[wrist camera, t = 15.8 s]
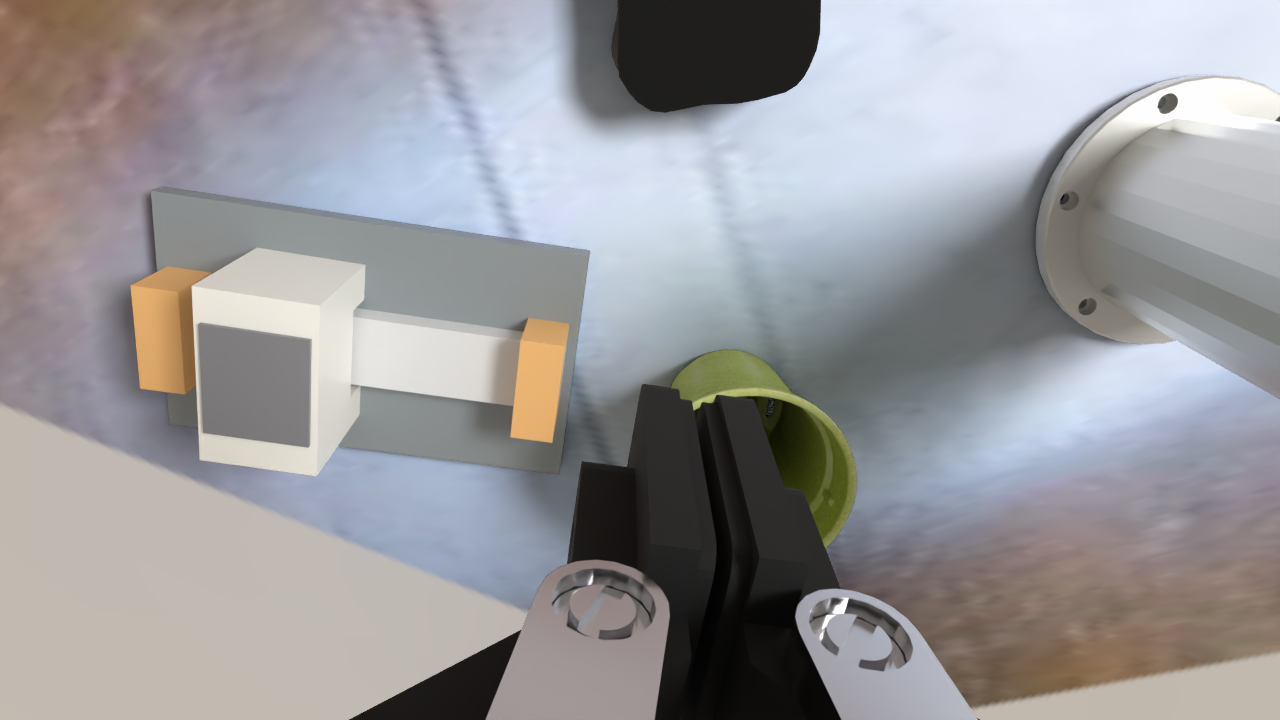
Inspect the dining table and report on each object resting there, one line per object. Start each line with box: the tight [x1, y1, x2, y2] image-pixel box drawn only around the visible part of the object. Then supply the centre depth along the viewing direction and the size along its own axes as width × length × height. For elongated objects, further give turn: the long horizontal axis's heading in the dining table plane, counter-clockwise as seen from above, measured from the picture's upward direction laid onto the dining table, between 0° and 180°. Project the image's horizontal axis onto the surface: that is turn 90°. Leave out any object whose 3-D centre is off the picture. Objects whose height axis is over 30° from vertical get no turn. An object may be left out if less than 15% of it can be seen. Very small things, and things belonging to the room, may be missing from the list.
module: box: [192, 248, 365, 476], centre depth 36 cm, size 5×8×6 cm, turn 170°
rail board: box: [131, 187, 590, 474], centre depth 38 cm, size 20×12×4 cm, turn 81°
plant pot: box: [671, 350, 857, 548], centre depth 37 cm, size 9×9×9 cm
